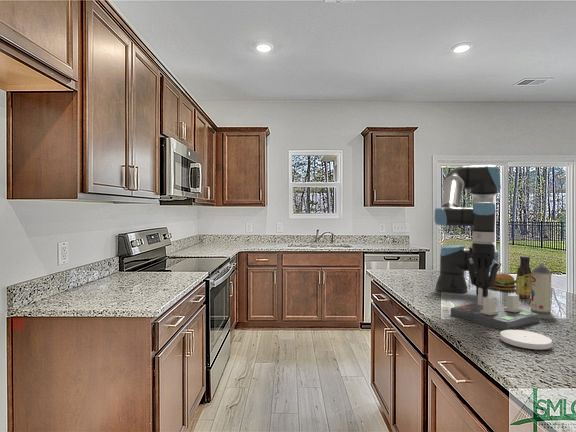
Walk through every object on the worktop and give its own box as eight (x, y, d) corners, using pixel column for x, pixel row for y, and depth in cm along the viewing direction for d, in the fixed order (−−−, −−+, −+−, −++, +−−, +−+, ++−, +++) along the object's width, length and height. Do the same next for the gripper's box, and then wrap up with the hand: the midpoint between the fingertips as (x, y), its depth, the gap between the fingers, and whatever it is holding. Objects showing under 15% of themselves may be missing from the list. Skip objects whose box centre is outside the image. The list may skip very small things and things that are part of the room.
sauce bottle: (526, 299, 182) (527, 257, 181) (513, 296, 187) (514, 256, 187) (534, 298, 185) (535, 257, 184) (521, 295, 190) (522, 255, 190)
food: (481, 287, 210) (481, 272, 210) (498, 285, 216) (499, 271, 216) (505, 292, 197) (505, 276, 197) (522, 290, 203) (523, 275, 203)
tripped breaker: (480, 312, 144) (480, 296, 144) (487, 311, 147) (488, 295, 147) (490, 315, 141) (491, 299, 141) (498, 313, 144) (498, 297, 144)
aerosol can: (530, 308, 165) (531, 262, 165) (549, 310, 161) (550, 263, 161) (531, 312, 159) (532, 263, 159) (551, 314, 156) (552, 265, 155)
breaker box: (450, 315, 152) (450, 307, 152) (482, 308, 164) (482, 300, 164) (507, 330, 133) (507, 321, 133) (538, 321, 145) (538, 313, 145)
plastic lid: (504, 334, 131) (504, 326, 131) (554, 343, 122) (554, 335, 122) (495, 345, 120) (495, 337, 120) (549, 356, 111) (549, 347, 111)
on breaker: (503, 310, 149) (504, 294, 149) (510, 308, 151) (511, 293, 151) (514, 312, 145) (514, 296, 145) (521, 310, 148) (521, 295, 148)
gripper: (461, 241, 149) (460, 302, 150) (494, 244, 138) (492, 309, 139) (473, 241, 153) (471, 300, 154) (505, 244, 142) (504, 307, 143)
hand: (481, 304), depth 146 cm, fingers closed
